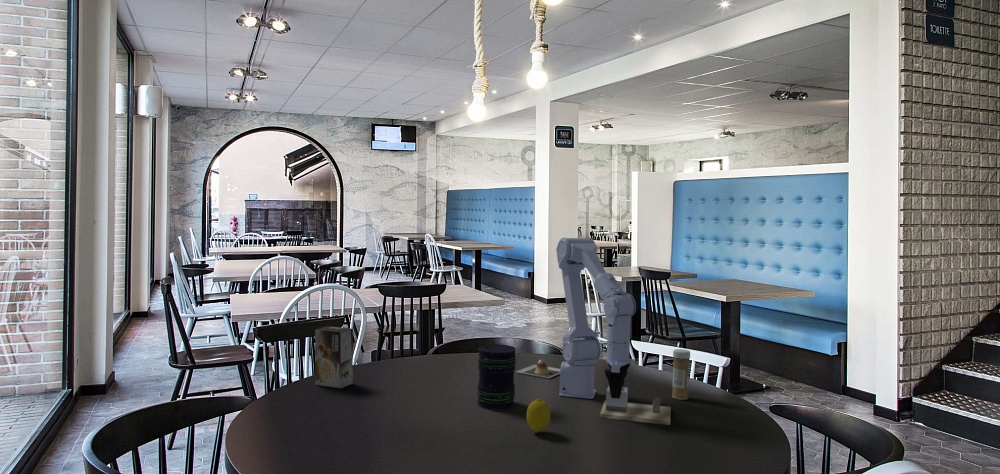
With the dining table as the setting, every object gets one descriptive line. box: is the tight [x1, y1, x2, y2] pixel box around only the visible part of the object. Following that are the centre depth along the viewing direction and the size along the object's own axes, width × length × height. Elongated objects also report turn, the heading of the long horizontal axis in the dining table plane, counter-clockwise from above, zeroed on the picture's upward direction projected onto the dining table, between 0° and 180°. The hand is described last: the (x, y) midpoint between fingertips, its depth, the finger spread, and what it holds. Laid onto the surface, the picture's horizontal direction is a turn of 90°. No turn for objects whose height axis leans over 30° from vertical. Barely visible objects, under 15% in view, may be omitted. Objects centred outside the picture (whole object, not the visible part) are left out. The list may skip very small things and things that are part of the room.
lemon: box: [526, 398, 551, 434], centre depth 151 cm, size 6×6×8 cm
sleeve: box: [605, 385, 629, 412], centre depth 168 cm, size 5×5×5 cm
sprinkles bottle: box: [671, 348, 691, 401], centre depth 182 cm, size 5×5×14 cm
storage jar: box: [477, 343, 517, 411], centre depth 172 cm, size 10×10×15 cm
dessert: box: [515, 359, 560, 379], centre depth 207 cm, size 12×12×5 cm
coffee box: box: [314, 325, 354, 389], centre depth 187 cm, size 9×6×16 cm
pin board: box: [599, 397, 672, 426], centre depth 167 cm, size 17×12×4 cm
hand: (616, 393), depth 168 cm, fingers open, 7 cm apart
